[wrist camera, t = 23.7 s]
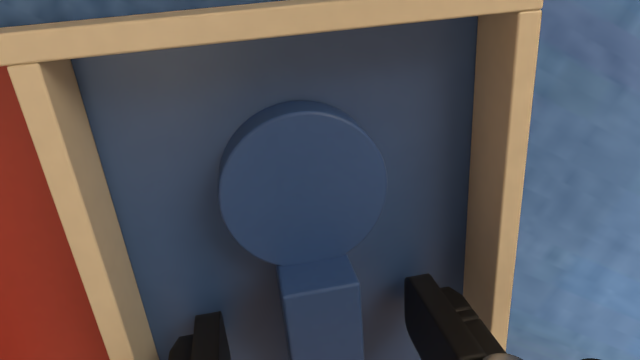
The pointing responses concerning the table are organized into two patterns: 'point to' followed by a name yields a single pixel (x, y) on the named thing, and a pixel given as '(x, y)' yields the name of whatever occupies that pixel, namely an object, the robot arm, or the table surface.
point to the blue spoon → (306, 216)
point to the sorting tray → (206, 153)
